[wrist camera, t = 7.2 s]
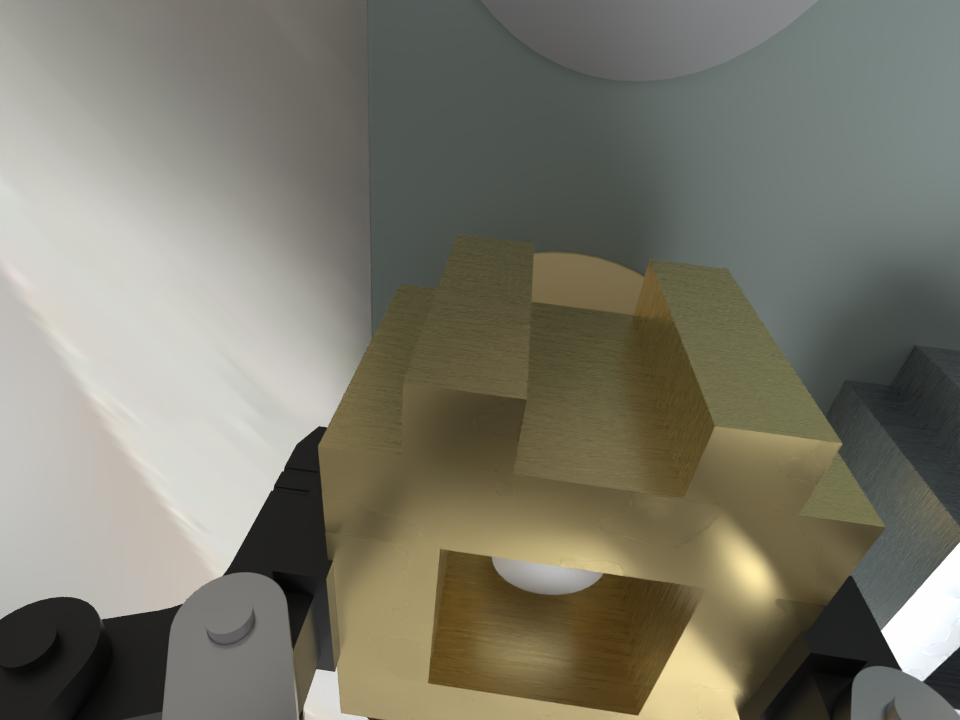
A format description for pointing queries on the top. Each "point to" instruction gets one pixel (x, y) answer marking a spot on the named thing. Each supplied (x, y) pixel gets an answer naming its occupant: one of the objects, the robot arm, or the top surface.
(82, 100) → the top surface
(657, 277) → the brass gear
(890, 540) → the grey hollow block
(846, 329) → the gear board
